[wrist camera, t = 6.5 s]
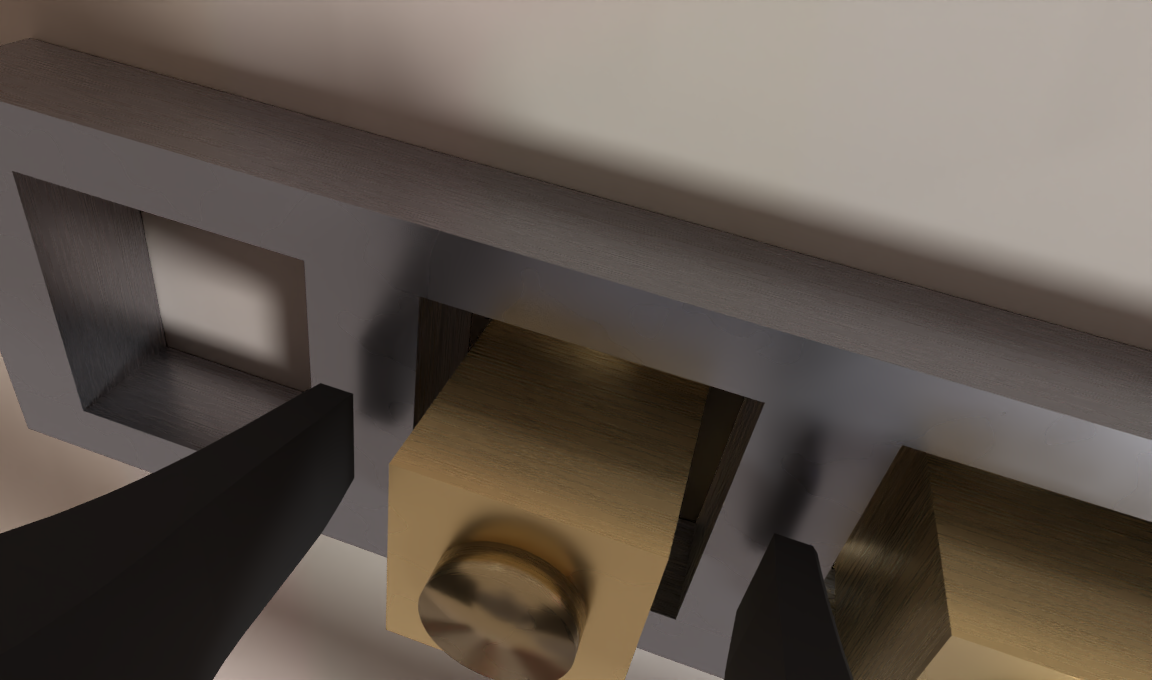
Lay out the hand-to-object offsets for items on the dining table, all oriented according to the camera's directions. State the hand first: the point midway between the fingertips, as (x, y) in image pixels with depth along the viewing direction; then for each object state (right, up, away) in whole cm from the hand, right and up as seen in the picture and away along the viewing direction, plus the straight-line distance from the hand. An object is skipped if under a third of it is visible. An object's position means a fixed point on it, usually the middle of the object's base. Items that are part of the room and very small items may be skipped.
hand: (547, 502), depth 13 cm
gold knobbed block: (+8, 0, +2) cm, 8 cm away
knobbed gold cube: (+1, +1, +3) cm, 3 cm away
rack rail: (+1, +2, +3) cm, 3 cm away
